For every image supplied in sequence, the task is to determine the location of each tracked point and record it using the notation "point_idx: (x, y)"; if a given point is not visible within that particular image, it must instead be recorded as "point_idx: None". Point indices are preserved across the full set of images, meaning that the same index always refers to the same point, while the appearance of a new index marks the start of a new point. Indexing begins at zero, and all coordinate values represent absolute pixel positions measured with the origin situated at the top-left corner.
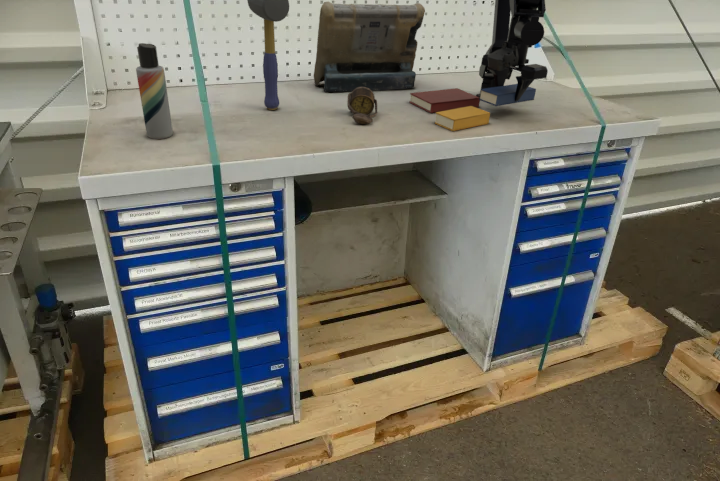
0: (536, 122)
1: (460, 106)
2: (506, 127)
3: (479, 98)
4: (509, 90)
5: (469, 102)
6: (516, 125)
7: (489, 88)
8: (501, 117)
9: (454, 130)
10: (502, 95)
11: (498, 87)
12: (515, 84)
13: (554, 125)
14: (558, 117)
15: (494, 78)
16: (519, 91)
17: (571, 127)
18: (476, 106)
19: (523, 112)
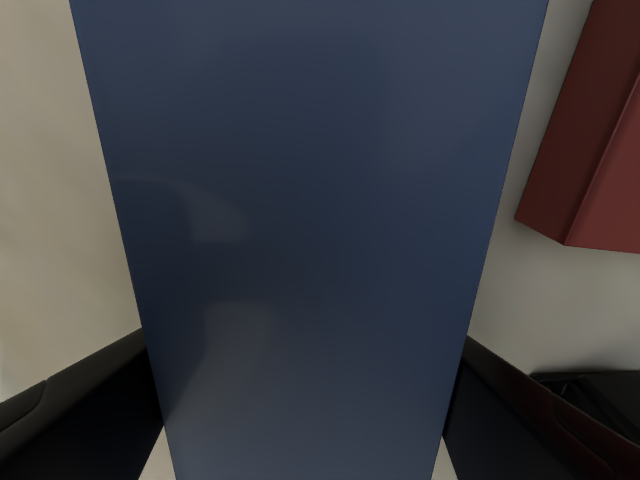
0: (117, 309)
1: (611, 12)
2: (65, 29)
3: (563, 234)
4: (249, 353)
5: (589, 122)
6: (93, 148)
7: (474, 169)
8: None
9: None
10: (99, 87)
11: (426, 335)
12: None
13: (48, 351)
14: (159, 450)
15: (621, 440)
16: (69, 376)
17: (3, 395)
18: (527, 198)
19: None
